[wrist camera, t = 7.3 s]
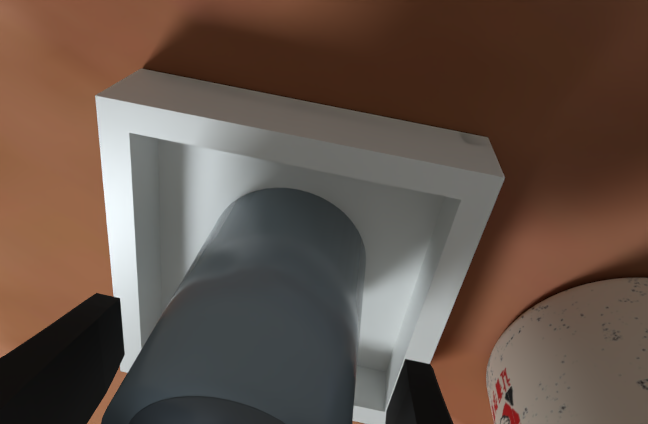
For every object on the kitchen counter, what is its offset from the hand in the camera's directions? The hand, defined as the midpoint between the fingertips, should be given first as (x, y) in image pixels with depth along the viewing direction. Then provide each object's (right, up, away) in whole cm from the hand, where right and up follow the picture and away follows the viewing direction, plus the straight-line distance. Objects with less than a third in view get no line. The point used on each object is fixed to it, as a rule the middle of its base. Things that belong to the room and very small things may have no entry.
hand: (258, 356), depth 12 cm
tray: (+1, +2, +4) cm, 5 cm away
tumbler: (0, +2, +3) cm, 4 cm away
